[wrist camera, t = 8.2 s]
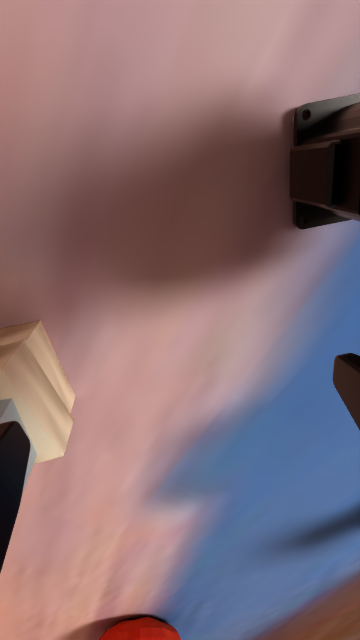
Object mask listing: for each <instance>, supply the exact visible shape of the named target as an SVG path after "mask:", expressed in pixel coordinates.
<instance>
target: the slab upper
mask: <svg viewBox="0 0 360 640" xmlns="http://www.w3.org/2000/svg"><path fill="white" fill-rule="evenodd" d="M4 399H12V400H13V402H14V404H15V406H16V408H17V411H18V413H19V415H20V417H21V420H22V422H23V424H24V426H25V428H26V431H27V433H28V435H29V437H30V439H31V442H32V444H33V446H34V448H35V451H36V453H37V456H36V459H35V461H34V464H36V463H40V462H43V461H47V460H50V459H54V458H57V457H61V456H64V452H65V449H66V446H67V442H68V439H69V435H70V432H71V428H72V425H73V421H74V419H73V417H72V416H71V414H70V412H69V411H68V409H67V408H66V406H65V404H64V403H63V401H62V400H61V398H60V397H59V395H58V393H57V392H56V390H55V389H54V387H53V385H52V384H51V382H50V381H49V379H48V377H47V376H46V374H45V373H44V371H43V369H42V368H41V366H40V365H39V363H38V362H37V360H36V358H35V357H34V355H33V354H32V352H31V350H30V349H29V347H28V346H27V344H26V343H25V341H24V339H23V340H20V341H17V342H13V343H10V344H7V345H4V346H0V400H4Z"/></svg>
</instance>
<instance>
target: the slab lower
mask: <svg viewBox="0 0 360 640" xmlns="http://www.w3.org/2000/svg"><path fill="white" fill-rule="evenodd" d="M23 339H24V341H25V343H26V344H27V346H28V347H29V349H30V350H31V352H32V354H33V355H34V357H35V358H36V360H37V362H38V363H39V365H40V366H41V368H42V369H43V371H44V373H45V374H46V376H47V377H48V379H49V381H50V382H51V384H52V385H53V387H54V389H55V390H56V392H57V393H58V395H59V397H60V398H61V400H62V401H63V403H64V404H65V406H66V408H67V409H68V411H69V412H70V413H71V410H72V407H73V403H74V400H75V395H74V393H73V390H72V388H71V386H70V384H69V382H68V379H67V377H66V375H65V373H64V371H63V368H62V366H61V364H60V362H59V360H58V357H57V355H56V353H55V351H54V349H53V347H52V344H51V342H50V340H49V338H48V336H47V333H46V331H45V329H44V327H43V325H42V322H41V320H40V321H35V322H30V323H25V324H20V325H15V326H11V327H6V328H1V329H0V346H4V345H7V344H10V343H13V342H17V341H20V340H23Z"/></svg>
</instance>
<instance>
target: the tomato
mask: <svg viewBox="0 0 360 640" xmlns="http://www.w3.org/2000/svg"><path fill="white" fill-rule="evenodd" d="M99 640H181V639H180V636H179V634H178V632H177V631H176V629H175V628H174V627H173V626H171V625H169V624H168V623H165V622H161V621H158V620H156V619H154V618H150V617H145V618H140V619H136V620H128V621H121V622H119V623H118V624H116V625H115V626H113V627H112V628H110V629H109V630H107V631H106V632H105V633H104V634H103V635H102V636H101V638H100V639H99Z"/></svg>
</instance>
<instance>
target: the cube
mask: <svg viewBox="0 0 360 640" xmlns="http://www.w3.org/2000/svg"><path fill="white" fill-rule="evenodd" d="M9 421H18V422H19V423H20V425H21V426H22V428H23V430H24V431H25V433H26V435H27V436H28V438H29V440H30V444H31V448H30V454H29V460H28V465H27V471H26V476H25V481H24V487H23V490H24V488H25V485H26V483H27V480H28V477H29V475H30V472H31V469H32V467H33V464H34V461H35V459H36V456H37V453H36V451H35V448H34V446H33V444H32V442H31V439H30V437H29V435H28V433H27V431H26V428H25V426H24V424H23V422H22V420H21V417H20V415H19V413H18V411H17V408H16V406H15V404H14V402H13V400H12V399H4V400H0V424H1V423H4V422H9ZM22 493H23V492H22Z"/></svg>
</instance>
